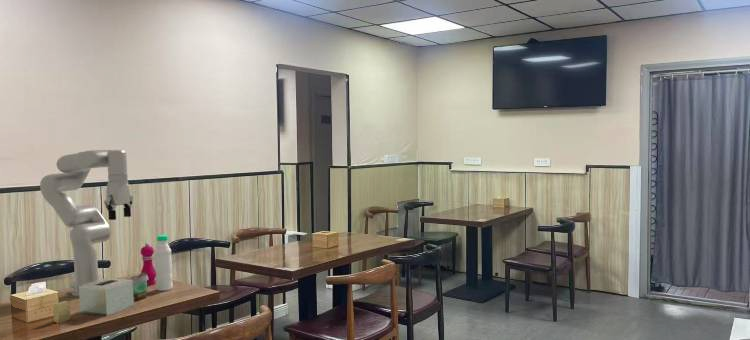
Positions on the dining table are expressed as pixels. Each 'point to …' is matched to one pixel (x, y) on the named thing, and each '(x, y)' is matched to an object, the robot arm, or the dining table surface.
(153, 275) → the pepper mill
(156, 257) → the water bottle
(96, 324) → the dining table surface
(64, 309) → the beige rectangular block
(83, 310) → the box
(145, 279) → the half-round slice
